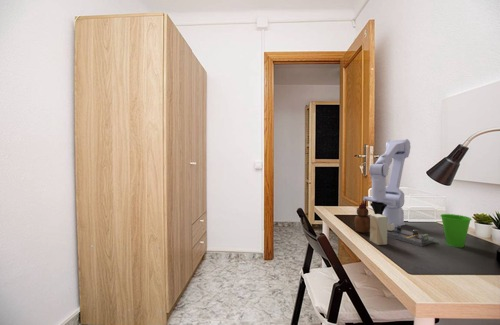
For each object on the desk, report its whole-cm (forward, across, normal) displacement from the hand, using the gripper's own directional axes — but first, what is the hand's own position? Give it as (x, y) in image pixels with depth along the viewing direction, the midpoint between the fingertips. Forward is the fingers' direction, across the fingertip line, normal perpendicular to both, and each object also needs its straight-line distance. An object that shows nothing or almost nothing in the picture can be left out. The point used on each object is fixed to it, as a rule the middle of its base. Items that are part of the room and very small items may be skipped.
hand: (378, 218), depth 108 cm
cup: (+6, +26, +9) cm, 28 cm away
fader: (+4, +5, 0) cm, 7 cm away
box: (+6, +9, -14) cm, 18 cm away
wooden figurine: (+6, -2, -8) cm, 10 cm away
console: (+6, +10, +1) cm, 12 cm away
